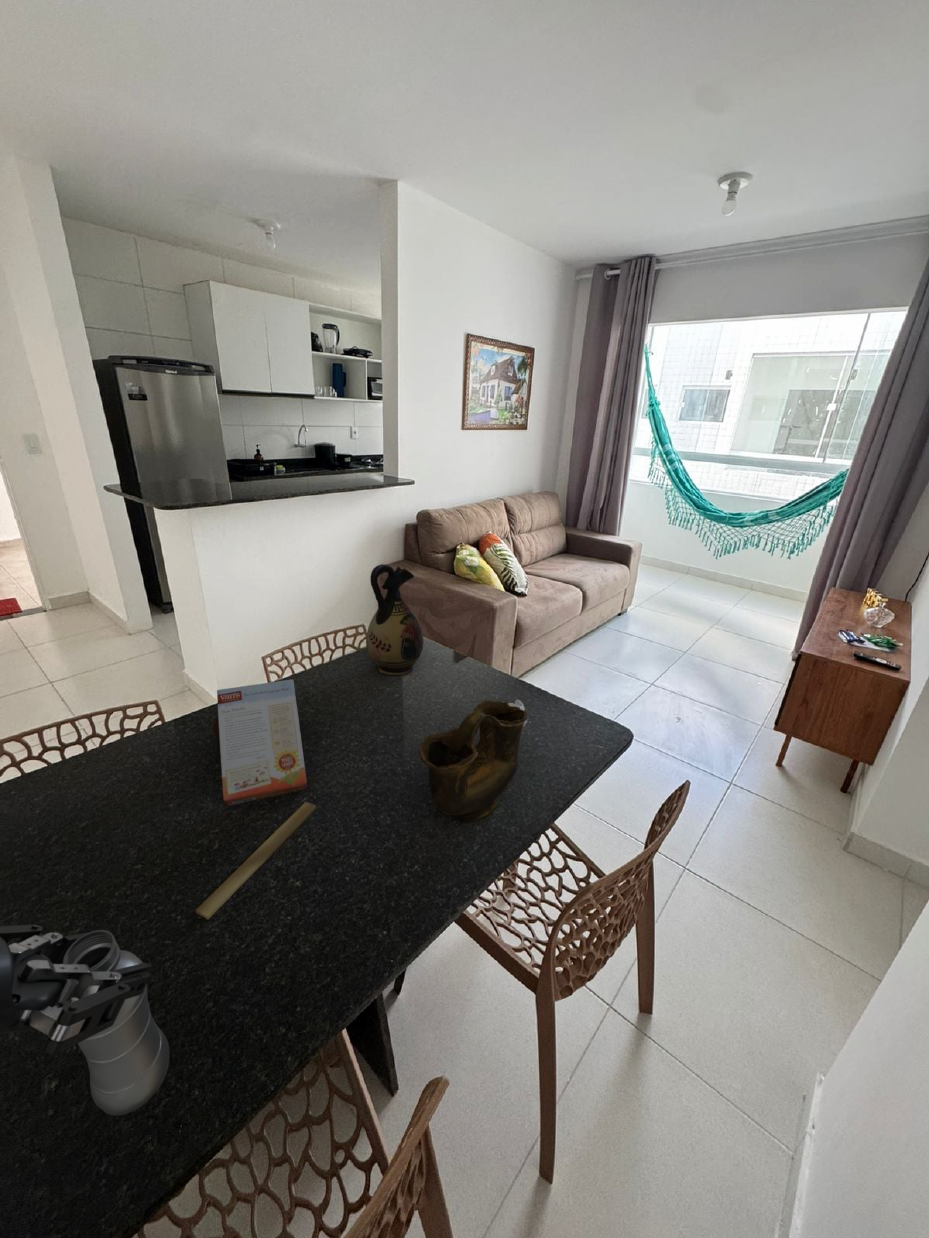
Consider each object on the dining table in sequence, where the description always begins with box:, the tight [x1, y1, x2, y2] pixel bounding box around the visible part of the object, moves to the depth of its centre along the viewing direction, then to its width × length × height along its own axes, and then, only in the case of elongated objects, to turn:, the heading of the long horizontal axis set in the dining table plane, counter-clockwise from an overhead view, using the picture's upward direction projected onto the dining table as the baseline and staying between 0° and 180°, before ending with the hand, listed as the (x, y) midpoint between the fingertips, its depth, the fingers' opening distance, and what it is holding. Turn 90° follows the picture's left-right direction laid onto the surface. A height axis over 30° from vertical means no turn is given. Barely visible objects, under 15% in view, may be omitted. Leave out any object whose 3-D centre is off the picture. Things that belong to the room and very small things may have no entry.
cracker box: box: [216, 679, 308, 807], centre depth 97 cm, size 14×6×21 cm
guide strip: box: [195, 801, 317, 920], centre depth 83 cm, size 2×24×1 cm, turn 156°
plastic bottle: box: [58, 929, 170, 1117], centre depth 47 cm, size 6×7×20 cm
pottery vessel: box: [417, 699, 529, 823], centre depth 93 cm, size 25×11×20 cm, turn 140°
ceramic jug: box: [365, 563, 424, 676], centre depth 135 cm, size 17×16×30 cm
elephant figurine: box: [507, 699, 528, 728], centre depth 119 cm, size 7×8×6 cm
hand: (119, 960), depth 46 cm, fingers closed on plastic bottle, 6 cm apart
